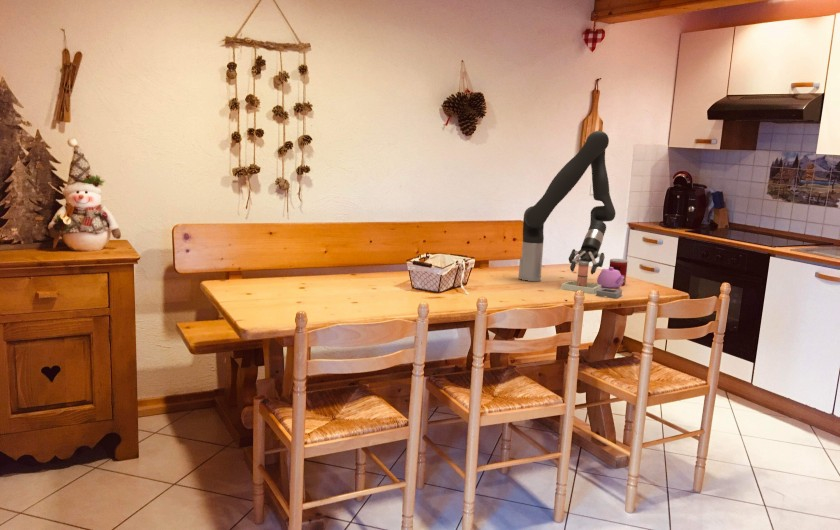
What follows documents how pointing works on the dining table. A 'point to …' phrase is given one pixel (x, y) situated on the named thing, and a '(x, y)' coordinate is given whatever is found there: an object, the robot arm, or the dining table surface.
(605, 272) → the teapot
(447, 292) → the dining table surface
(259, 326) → the dining table surface
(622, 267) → the canned food
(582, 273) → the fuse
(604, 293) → the socket block
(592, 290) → the parts tray
